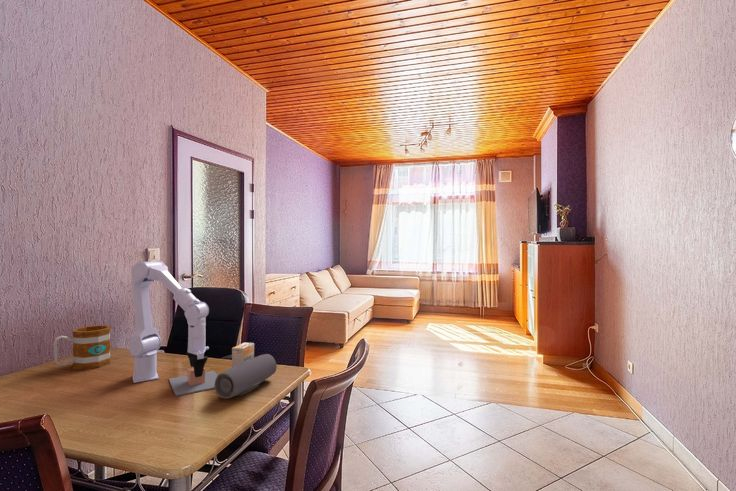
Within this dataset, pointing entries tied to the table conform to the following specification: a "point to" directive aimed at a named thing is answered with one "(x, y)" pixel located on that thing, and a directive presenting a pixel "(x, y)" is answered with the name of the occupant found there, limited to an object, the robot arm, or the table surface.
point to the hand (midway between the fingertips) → (196, 373)
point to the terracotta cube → (195, 380)
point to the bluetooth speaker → (245, 376)
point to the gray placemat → (183, 387)
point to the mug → (88, 347)
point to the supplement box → (242, 353)
